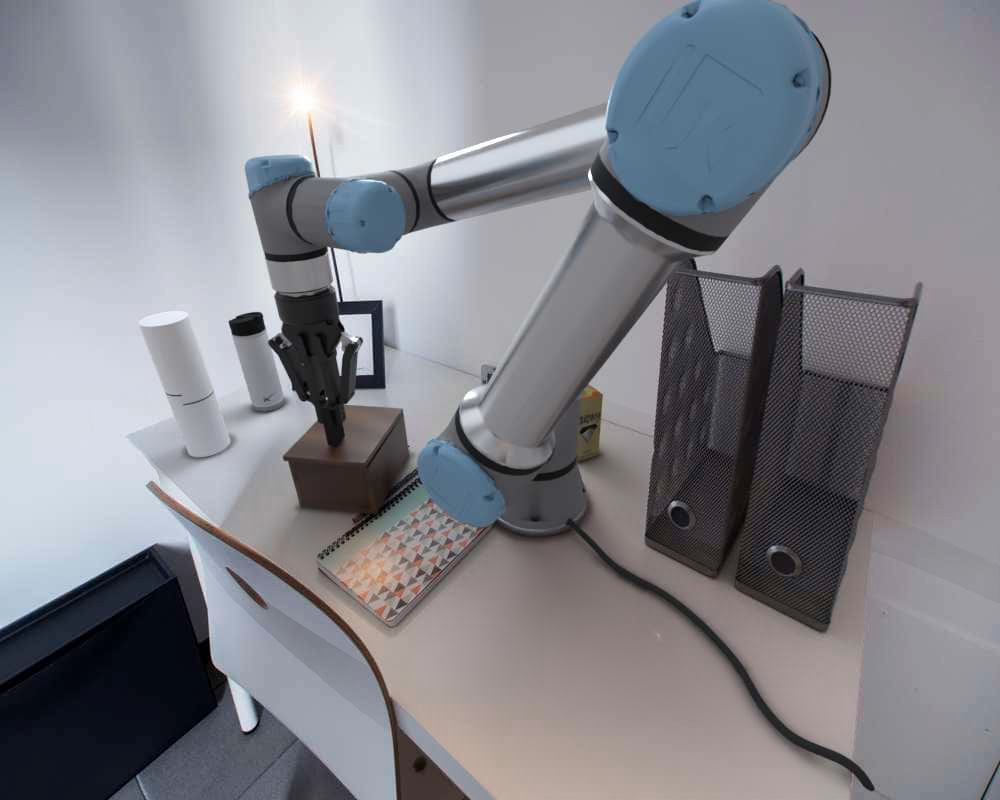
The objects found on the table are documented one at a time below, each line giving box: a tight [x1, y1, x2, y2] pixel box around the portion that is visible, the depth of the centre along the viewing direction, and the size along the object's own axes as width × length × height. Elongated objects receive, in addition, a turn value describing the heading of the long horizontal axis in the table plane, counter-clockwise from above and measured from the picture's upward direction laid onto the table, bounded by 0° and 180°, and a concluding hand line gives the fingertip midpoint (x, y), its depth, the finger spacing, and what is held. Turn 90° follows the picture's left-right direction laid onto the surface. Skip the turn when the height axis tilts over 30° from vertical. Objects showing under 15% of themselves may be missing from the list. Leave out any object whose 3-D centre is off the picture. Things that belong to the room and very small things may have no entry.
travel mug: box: [228, 311, 286, 413], centre depth 106 cm, size 6×7×20 cm
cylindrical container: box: [138, 310, 231, 458], centre depth 92 cm, size 7×7×25 cm
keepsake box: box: [287, 412, 410, 516], centre depth 86 cm, size 16×13×9 cm
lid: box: [282, 404, 404, 468], centre depth 83 cm, size 16×13×1 cm
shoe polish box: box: [577, 383, 604, 463], centre depth 90 cm, size 5×5×12 cm
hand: (336, 440), depth 79 cm, fingers closed
